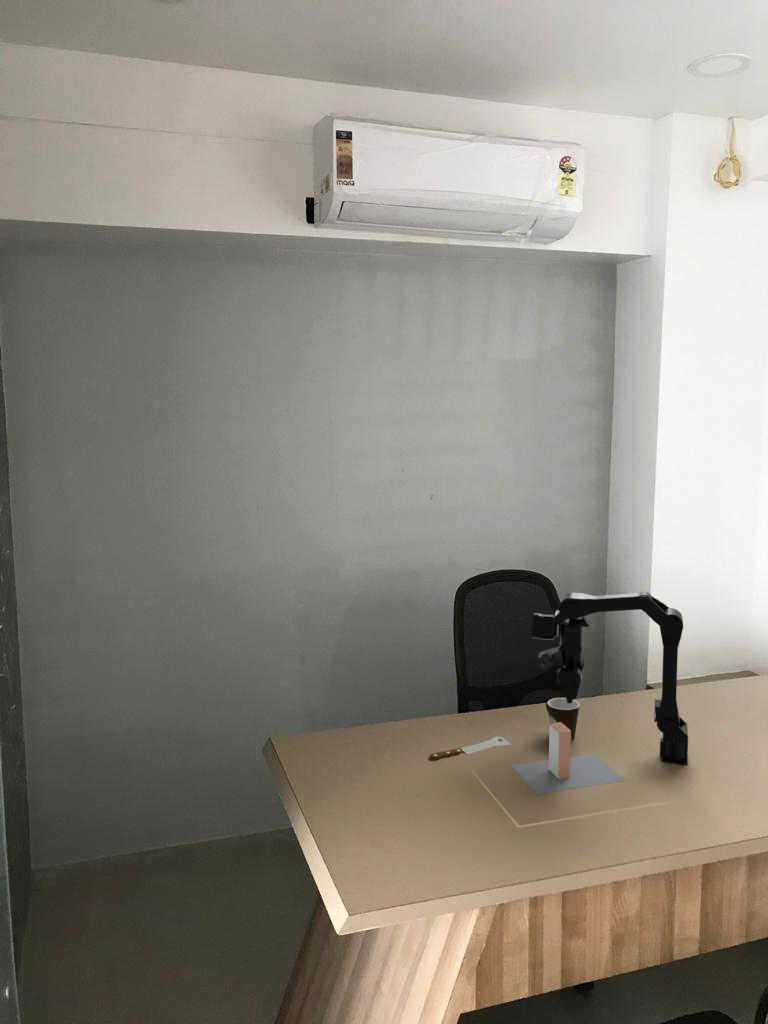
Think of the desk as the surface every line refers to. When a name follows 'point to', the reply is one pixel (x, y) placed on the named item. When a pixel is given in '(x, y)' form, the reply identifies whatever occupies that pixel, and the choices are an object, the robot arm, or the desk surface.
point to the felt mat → (582, 774)
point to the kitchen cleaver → (471, 748)
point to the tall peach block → (559, 750)
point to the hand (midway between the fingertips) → (570, 696)
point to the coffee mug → (563, 713)
